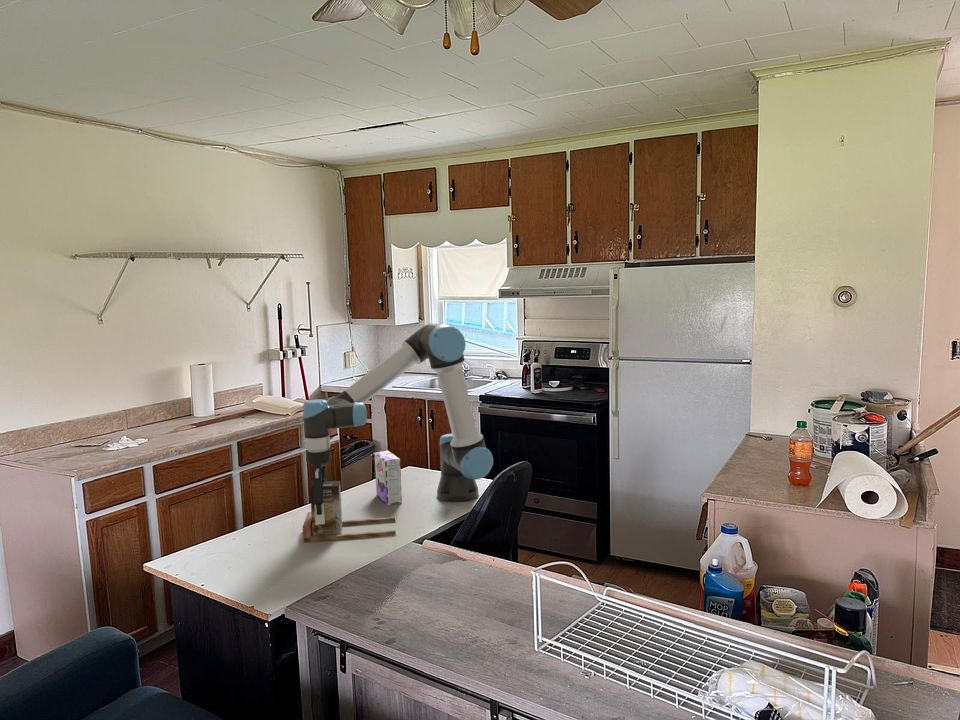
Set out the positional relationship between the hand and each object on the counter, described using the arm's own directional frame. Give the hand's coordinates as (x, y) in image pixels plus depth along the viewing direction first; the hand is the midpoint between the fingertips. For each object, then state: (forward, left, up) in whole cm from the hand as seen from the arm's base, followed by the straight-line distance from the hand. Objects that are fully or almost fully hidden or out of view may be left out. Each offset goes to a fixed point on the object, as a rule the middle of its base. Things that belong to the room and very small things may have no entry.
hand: (322, 517), depth 213 cm
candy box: (-21, -30, -5) cm, 37 cm away
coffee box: (-2, 0, -5) cm, 5 cm away
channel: (-9, 0, -5) cm, 10 cm away
